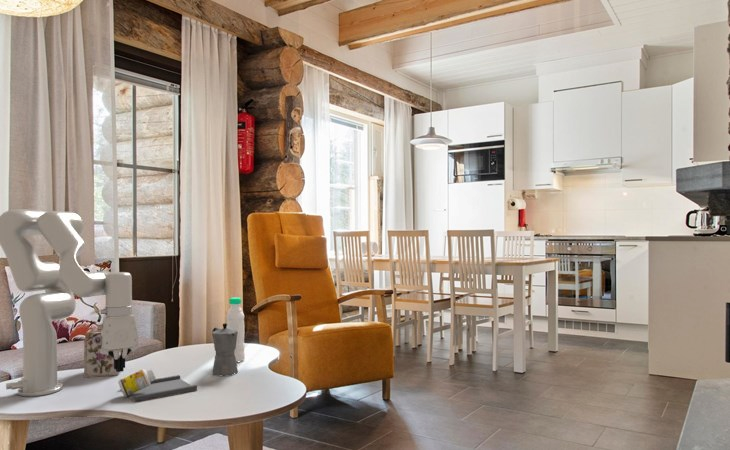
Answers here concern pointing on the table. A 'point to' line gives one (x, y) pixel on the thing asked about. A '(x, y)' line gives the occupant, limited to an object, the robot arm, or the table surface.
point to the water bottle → (237, 326)
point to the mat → (163, 388)
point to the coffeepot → (224, 350)
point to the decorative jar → (97, 356)
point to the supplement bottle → (136, 381)
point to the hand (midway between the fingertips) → (119, 370)
